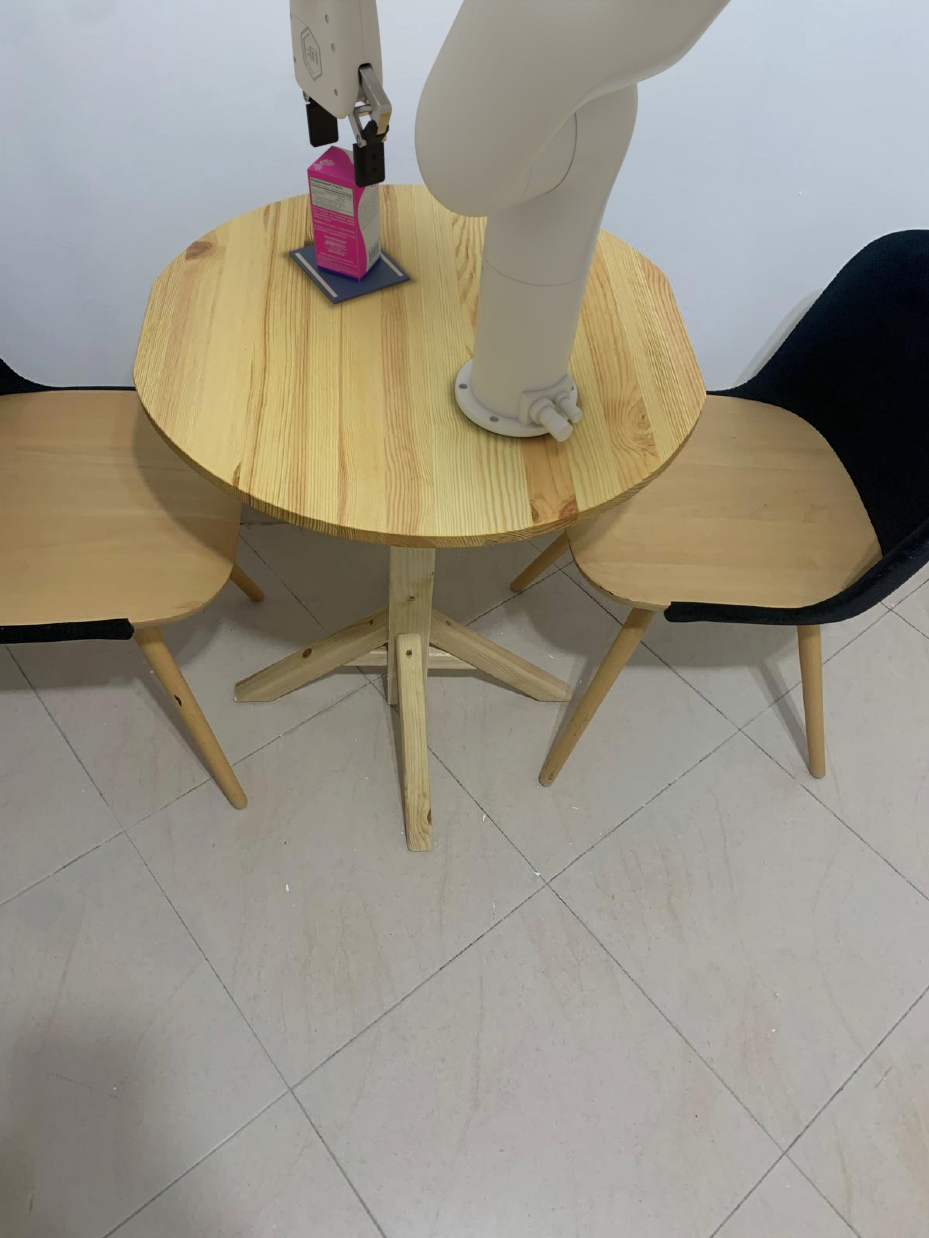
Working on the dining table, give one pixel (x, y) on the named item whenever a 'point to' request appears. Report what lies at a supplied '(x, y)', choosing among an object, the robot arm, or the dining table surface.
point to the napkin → (345, 288)
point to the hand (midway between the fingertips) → (346, 163)
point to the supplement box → (343, 216)
